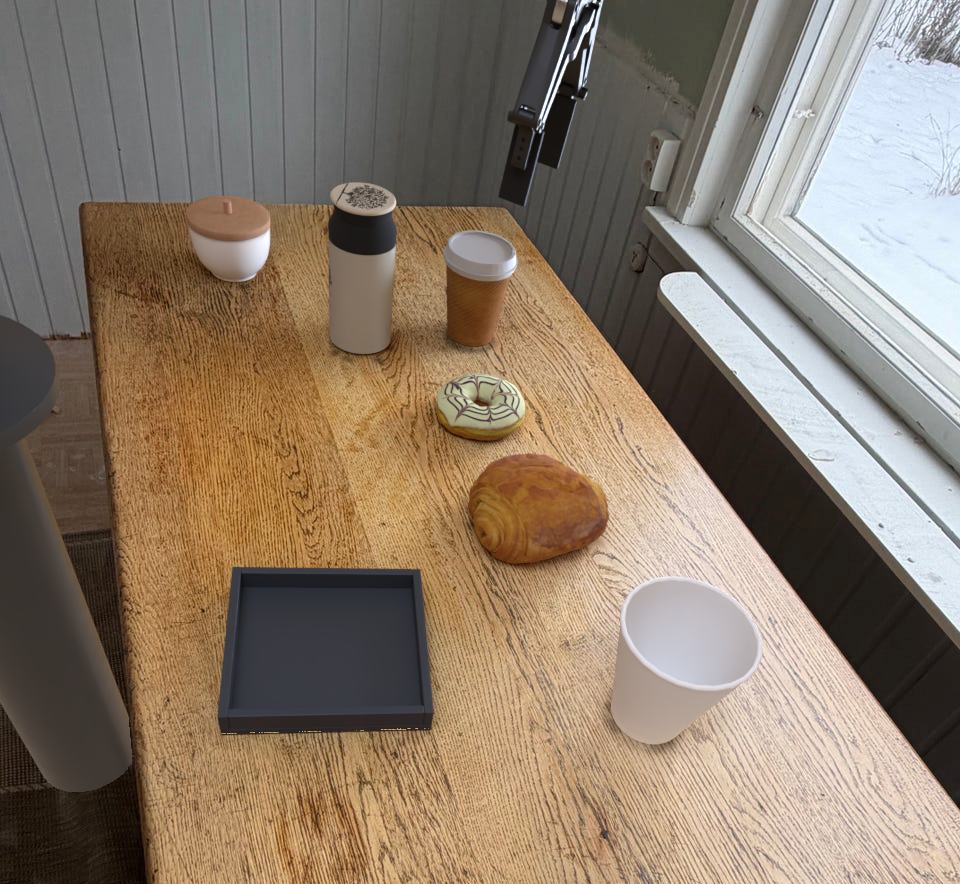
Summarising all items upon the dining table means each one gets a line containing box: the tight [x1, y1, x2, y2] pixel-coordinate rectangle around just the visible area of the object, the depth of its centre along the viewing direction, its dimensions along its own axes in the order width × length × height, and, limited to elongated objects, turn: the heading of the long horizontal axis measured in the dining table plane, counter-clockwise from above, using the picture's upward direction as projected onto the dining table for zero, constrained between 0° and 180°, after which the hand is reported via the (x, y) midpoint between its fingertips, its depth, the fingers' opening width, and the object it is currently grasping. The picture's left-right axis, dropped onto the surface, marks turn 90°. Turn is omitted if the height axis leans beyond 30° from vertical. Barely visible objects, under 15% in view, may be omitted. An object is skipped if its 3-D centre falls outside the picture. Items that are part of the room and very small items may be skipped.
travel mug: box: [327, 181, 398, 355], centre depth 99 cm, size 8×8×18 cm
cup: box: [610, 575, 763, 746], centre depth 70 cm, size 12×12×12 cm
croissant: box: [467, 453, 610, 565], centre depth 86 cm, size 14×16×8 cm
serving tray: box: [216, 566, 435, 736], centre depth 73 cm, size 18×17×3 cm
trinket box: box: [185, 195, 271, 283], centre depth 108 cm, size 11×11×9 cm
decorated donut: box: [435, 373, 526, 441], centre depth 97 cm, size 10×11×4 cm
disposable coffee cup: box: [442, 229, 519, 347], centre depth 106 cm, size 10×10×12 cm
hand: (529, 181), depth 83 cm, fingers open, 13 cm apart
